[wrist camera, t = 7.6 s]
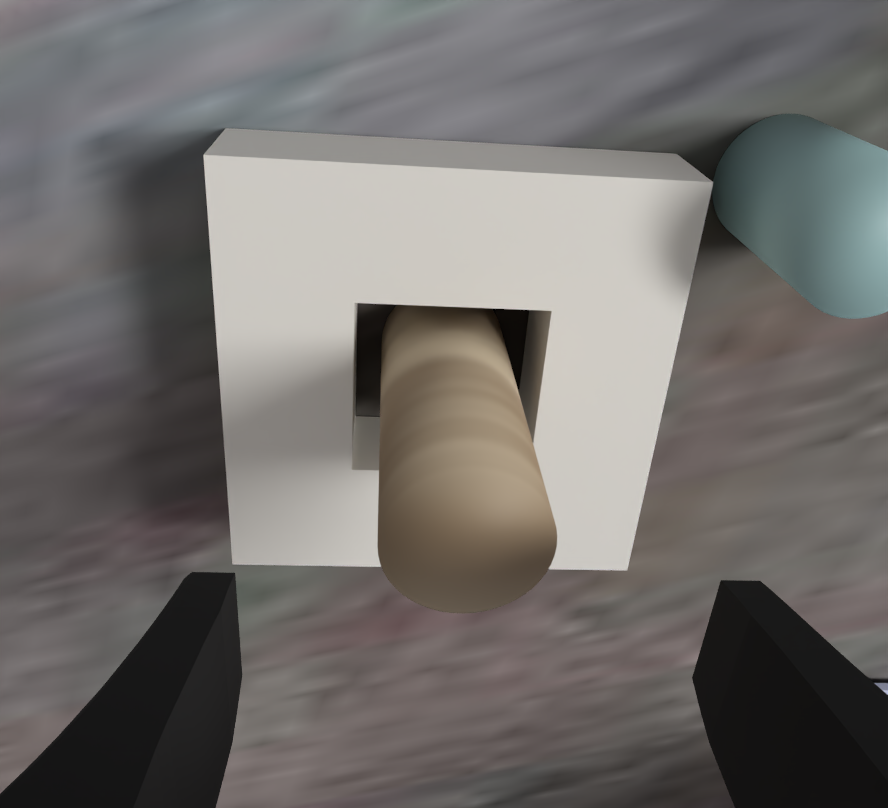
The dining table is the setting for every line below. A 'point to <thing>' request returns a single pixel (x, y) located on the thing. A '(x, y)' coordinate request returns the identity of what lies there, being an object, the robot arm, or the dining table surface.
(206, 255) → the dining table surface
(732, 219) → the short teal pin
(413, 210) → the collar block
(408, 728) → the dining table surface
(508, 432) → the long beech pin
